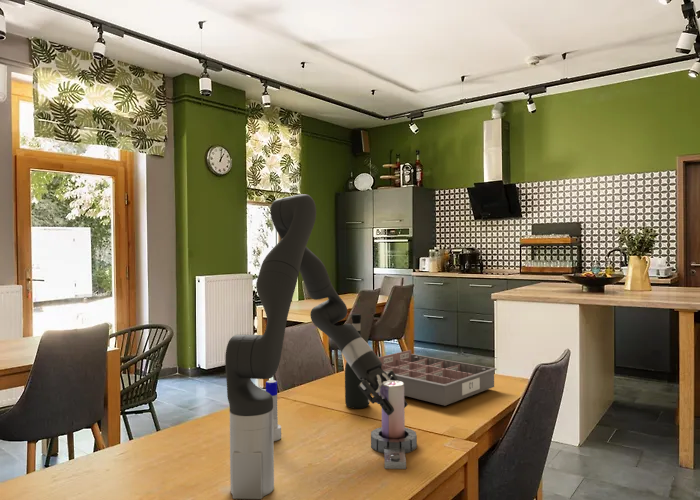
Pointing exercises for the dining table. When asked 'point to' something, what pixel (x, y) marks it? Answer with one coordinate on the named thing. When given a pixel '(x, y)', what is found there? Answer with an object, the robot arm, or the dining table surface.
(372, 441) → the pipe clamp bracket
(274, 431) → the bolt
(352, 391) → the wine bottle
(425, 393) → the organizer tray
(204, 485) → the dining table surface
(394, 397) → the beverage can
